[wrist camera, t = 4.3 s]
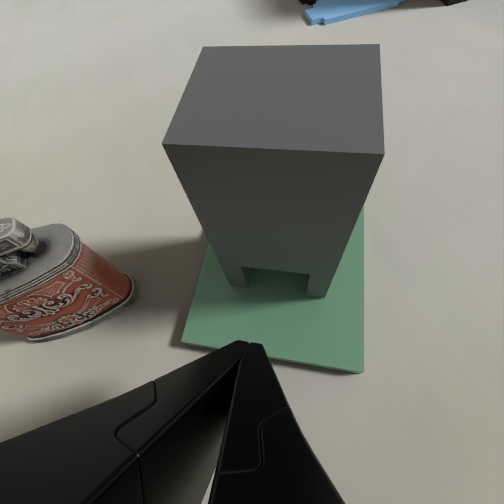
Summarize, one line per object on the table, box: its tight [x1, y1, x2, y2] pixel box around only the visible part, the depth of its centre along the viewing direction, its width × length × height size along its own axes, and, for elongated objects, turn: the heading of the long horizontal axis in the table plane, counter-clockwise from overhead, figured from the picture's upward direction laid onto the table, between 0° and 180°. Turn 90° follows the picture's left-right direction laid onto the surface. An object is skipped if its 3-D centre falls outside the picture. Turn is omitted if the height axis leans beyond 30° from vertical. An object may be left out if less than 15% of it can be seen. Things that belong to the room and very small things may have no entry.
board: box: [181, 205, 364, 374], centre depth 22 cm, size 19×11×1 cm, turn 170°
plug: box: [162, 44, 385, 298], centre depth 14 cm, size 5×6×12 cm
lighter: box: [0, 216, 139, 342], centre depth 16 cm, size 8×3×10 cm, turn 113°
